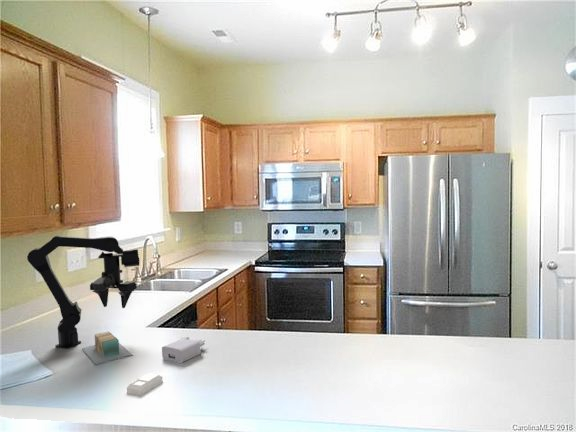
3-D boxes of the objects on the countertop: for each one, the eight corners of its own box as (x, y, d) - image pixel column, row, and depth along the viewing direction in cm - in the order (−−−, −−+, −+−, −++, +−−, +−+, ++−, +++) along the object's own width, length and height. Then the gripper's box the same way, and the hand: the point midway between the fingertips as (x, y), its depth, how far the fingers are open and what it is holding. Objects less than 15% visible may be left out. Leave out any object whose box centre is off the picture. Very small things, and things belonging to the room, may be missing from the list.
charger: (212, 349, 150) (182, 364, 137) (193, 345, 154) (162, 359, 141) (212, 336, 149) (181, 349, 137) (193, 332, 154) (161, 345, 141)
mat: (82, 349, 155) (82, 347, 155) (116, 341, 162) (116, 340, 162) (95, 364, 139) (95, 363, 139) (132, 355, 146) (132, 354, 146)
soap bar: (162, 382, 124) (162, 374, 124) (140, 396, 115) (140, 387, 115) (149, 380, 126) (149, 371, 125) (127, 394, 117) (126, 384, 117)
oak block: (94, 334, 154) (103, 343, 143) (108, 331, 157) (118, 339, 146) (95, 347, 154) (104, 357, 144) (109, 344, 157) (119, 353, 147)
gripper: (77, 271, 161) (80, 311, 162) (115, 272, 155) (118, 314, 156) (99, 266, 172) (102, 304, 173) (136, 267, 165) (138, 306, 166)
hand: (114, 307), depth 166 cm, fingers open, 9 cm apart
